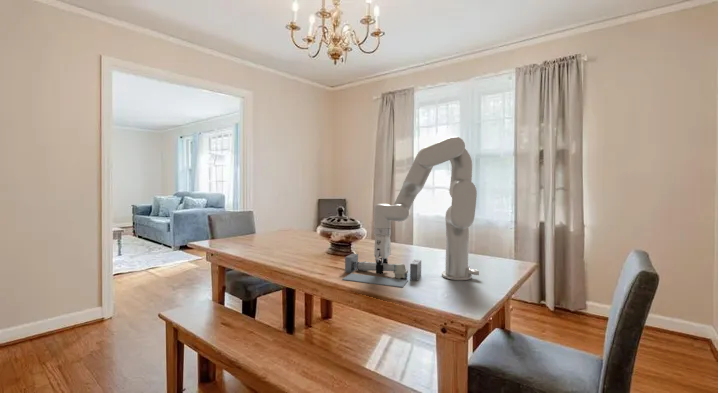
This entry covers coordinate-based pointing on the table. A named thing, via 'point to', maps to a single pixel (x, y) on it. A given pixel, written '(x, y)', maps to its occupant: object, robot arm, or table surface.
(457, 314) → the table surface
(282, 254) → the table surface
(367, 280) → the rubber mat
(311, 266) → the table surface
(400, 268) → the mallet
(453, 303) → the table surface
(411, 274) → the steel holder
